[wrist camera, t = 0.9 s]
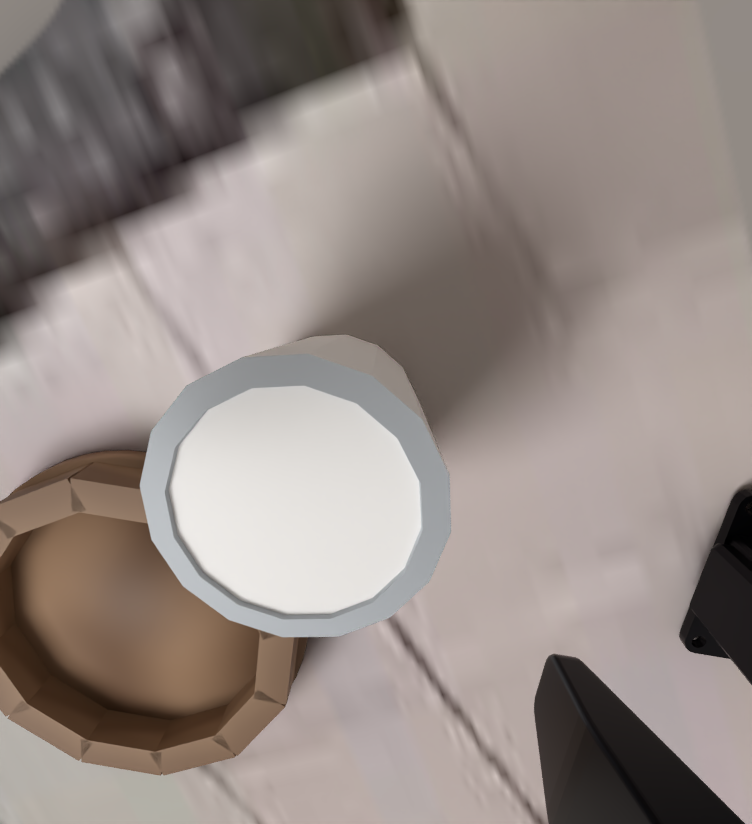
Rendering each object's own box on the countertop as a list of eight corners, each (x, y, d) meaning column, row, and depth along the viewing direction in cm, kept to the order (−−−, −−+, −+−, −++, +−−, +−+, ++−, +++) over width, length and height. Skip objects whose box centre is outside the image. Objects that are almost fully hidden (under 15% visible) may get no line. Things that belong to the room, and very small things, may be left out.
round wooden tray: (328, 480, 18) (318, 509, 16) (294, 750, 22) (282, 802, 20) (-23, 424, 19) (-78, 446, 16) (3, 701, 22) (-39, 746, 20)
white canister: (235, 490, 19) (138, 619, 12) (244, 301, 17) (134, 330, 10) (420, 517, 19) (426, 663, 12) (452, 330, 17) (481, 379, 10)
